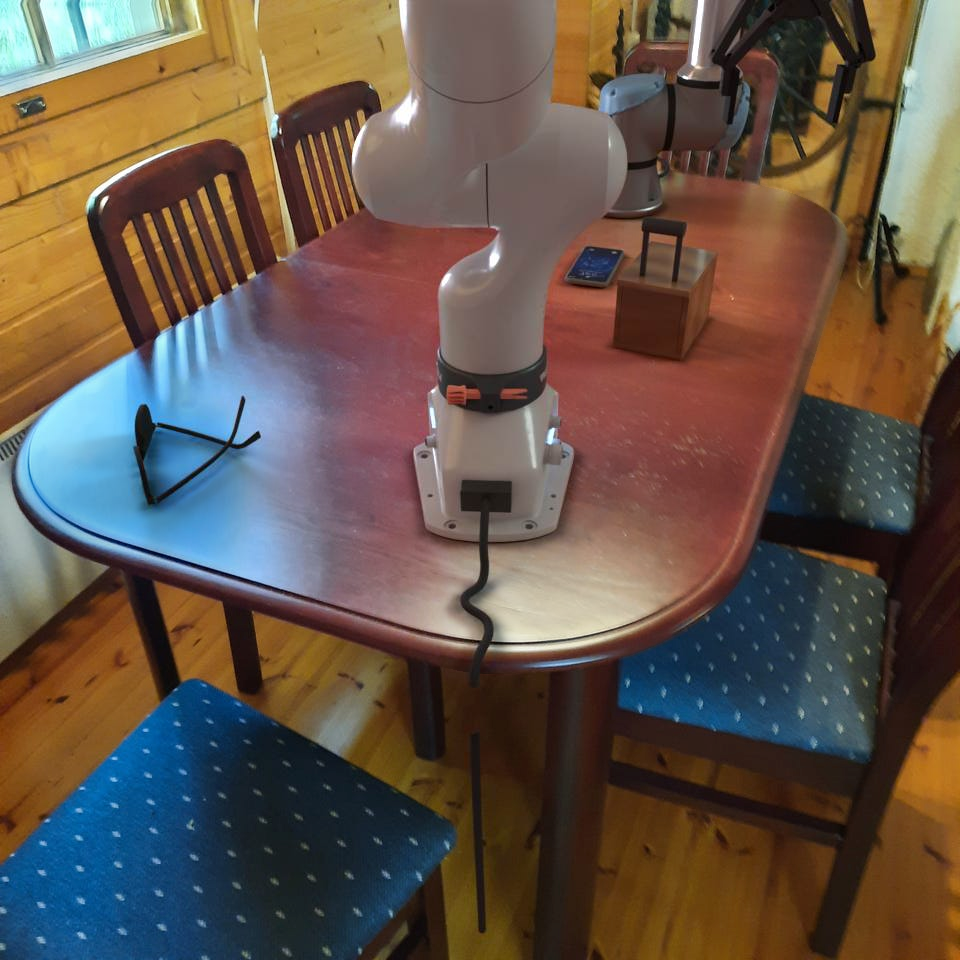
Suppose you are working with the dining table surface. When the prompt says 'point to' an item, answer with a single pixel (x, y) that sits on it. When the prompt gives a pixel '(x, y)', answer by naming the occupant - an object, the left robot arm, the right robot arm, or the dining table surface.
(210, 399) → the dining table surface
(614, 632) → the dining table surface
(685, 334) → the chest
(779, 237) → the dining table surface
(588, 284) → the smartphone
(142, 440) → the sunglasses
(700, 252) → the lid
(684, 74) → the right robot arm
